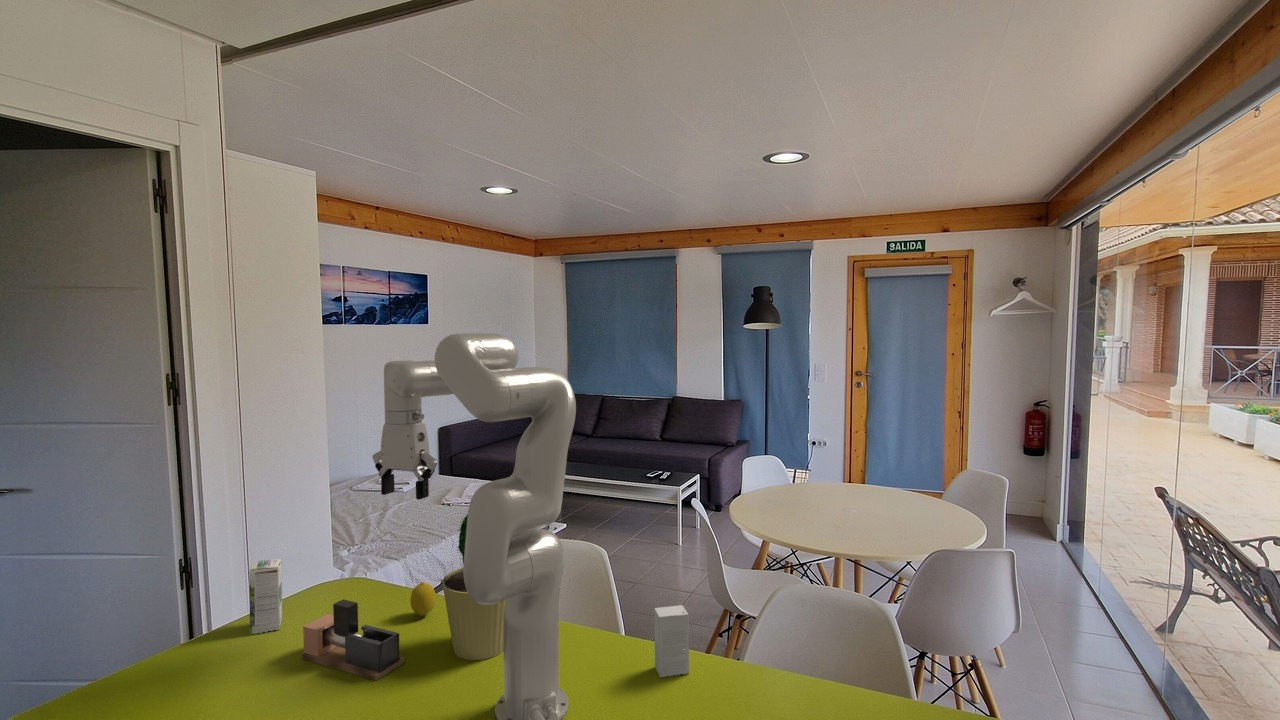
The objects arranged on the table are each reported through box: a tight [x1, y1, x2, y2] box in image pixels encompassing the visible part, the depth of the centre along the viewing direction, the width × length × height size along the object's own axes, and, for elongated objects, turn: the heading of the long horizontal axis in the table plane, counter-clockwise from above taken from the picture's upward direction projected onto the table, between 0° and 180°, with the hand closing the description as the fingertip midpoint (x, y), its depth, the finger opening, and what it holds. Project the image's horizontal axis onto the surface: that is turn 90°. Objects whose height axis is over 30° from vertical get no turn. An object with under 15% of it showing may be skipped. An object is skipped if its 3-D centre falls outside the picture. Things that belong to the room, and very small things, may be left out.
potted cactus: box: [441, 508, 507, 661], centre depth 130 cm, size 15×15×30 cm
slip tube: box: [322, 599, 365, 648], centre depth 127 cm, size 11×3×9 cm, turn 67°
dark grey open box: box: [345, 624, 401, 673], centre depth 123 cm, size 9×5×6 cm, turn 67°
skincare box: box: [653, 604, 690, 678], centre depth 122 cm, size 6×4×12 cm
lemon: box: [409, 581, 437, 617], centre depth 145 cm, size 6×6×8 cm
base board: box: [301, 646, 404, 681], centre depth 126 cm, size 20×7×1 cm, turn 67°
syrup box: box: [248, 558, 283, 636], centre depth 139 cm, size 6×6×14 cm
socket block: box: [302, 613, 337, 657], centre depth 129 cm, size 4×6×6 cm, turn 157°
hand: (405, 495), depth 136 cm, fingers open, 9 cm apart
